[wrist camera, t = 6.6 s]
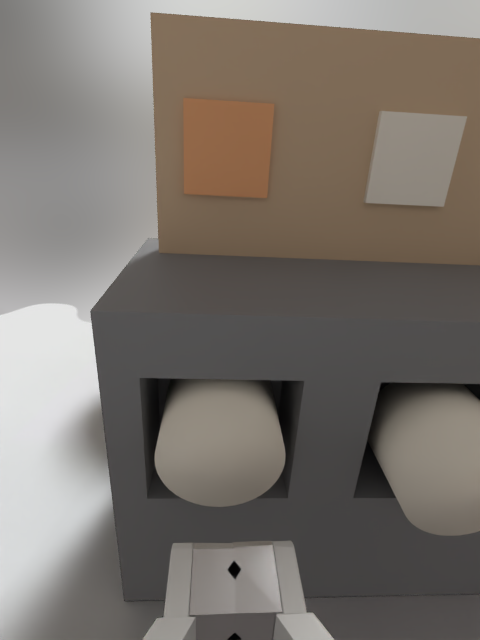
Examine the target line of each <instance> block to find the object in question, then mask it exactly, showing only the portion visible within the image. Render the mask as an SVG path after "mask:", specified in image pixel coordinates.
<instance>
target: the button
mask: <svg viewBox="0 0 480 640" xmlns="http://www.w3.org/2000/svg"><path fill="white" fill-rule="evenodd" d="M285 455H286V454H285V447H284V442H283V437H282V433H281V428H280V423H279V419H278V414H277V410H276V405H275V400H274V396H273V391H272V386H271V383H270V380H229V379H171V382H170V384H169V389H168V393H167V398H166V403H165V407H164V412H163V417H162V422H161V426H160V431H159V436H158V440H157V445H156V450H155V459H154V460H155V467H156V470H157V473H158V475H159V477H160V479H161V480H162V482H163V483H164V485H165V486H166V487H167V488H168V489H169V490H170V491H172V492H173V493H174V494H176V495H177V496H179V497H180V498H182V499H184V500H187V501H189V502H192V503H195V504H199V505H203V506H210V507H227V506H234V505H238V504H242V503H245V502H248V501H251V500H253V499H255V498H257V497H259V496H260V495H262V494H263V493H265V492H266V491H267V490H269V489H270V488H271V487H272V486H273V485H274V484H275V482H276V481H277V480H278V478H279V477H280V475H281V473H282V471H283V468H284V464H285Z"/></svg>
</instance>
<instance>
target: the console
mask: <svg viewBox="0 0 480 640" xmlns="http://www.w3.org/2000/svg"><path fill="white" fill-rule="evenodd" d="M151 39H152V67H153V68H152V69H153V96H154V125H155V154H156V181H157V182H156V183H157V212H158V239H156V238H148V239H147V240H146V242H145V243H144V244H143V245H142V247H141V248H140V249H139V250H138V252H137V253H136V254H135V255H134V257H133V258H132V259H131V260H130V262H129V263H128V265H126V267H125V268H124V269H123V271H122V272H121V273H120V274H119V276H118V277H117V278H116V280H115V281H114V282H113V283H112V284H111V286H110V287H109V288H108V289H107V291H106V292H105V293H104V295H103V296H102V297H101V298H100V299H99V301H98V302H97V303H96V305H95V306H94V307H93V308H92V310H91V320H92V329H93V338H94V346H95V355H96V363H97V372H98V381H99V389H100V398H101V406H102V415H103V423H104V432H105V441H106V449H107V458H108V466H109V475H110V483H111V492H112V501H113V509H114V518H115V526H116V535H117V543H118V552H119V560H120V569H121V578H122V586H123V595H124V601H144V600H165V599H166V591H167V582H168V573H169V565H170V556H171V549H172V545H173V543H233V542H247V541H290V540H291V541H292V543H293V545H294V548H295V553H296V558H297V563H298V568H299V574H300V579H301V584H302V589H303V594H304V597H347V596H398V595H448V594H480V531H478V532H475V533H470V534H465V535H458V536H442V535H435V534H431V533H428V532H425V531H422V530H421V529H419V528H417V527H416V526H414V525H413V524H412V523H411V522H410V521H409V520H408V519H407V517H406V516H405V514H404V512H403V510H402V508H401V506H400V504H399V502H398V500H397V498H396V496H395V494H394V492H393V490H392V488H391V486H390V484H389V482H388V480H387V478H386V476H385V474H384V472H383V470H382V468H381V466H380V464H379V462H378V460H377V458H376V456H375V454H374V452H373V451H372V449H371V447H370V445H369V443H368V441H367V439H368V434H369V430H370V426H371V422H372V418H373V413H374V409H375V405H376V401H377V397H378V393H379V392H380V391H381V390H382V389H383V388H384V387H385V386H387V385H388V384H390V383H391V382H398V383H455V384H464V385H465V386H466V387H467V388H468V389H469V390H470V391H471V392H472V393H473V394H474V395H475V396H476V397H477V398H478V399H479V400H480V39H479V38H467V37H453V36H441V35H429V34H416V33H404V32H391V31H378V30H365V29H352V28H340V27H327V26H315V25H303V24H290V23H277V22H265V21H252V20H239V19H226V18H214V17H202V16H189V15H176V14H162V13H151ZM171 379H229V380H270V383H271V386H272V391H273V396H274V400H275V405H276V410H277V414H278V419H279V423H280V428H281V433H282V437H283V442H284V447H285V454H286V455H285V464H284V468H283V471H282V473H281V475H280V477H279V478H278V480H277V481H276V482H275V484H274V485H273V486H272V487H271V488H270V489H269V490H267V491H266V492H265V493H263V494H262V495H260V496H259V497H257V498H255V499H253V500H251V501H248V502H245V503H242V504H238V505H234V506H227V507H210V506H203V505H199V504H195V503H192V502H189V501H187V500H184V499H182V498H180V497H179V496H177V495H176V494H174V493H173V492H172V491H170V490H169V489H168V488H167V487H166V486H165V485H164V483H163V482H162V480H161V479H160V477H159V475H158V473H157V470H156V467H155V460H154V459H155V450H156V445H157V440H158V436H159V431H160V426H161V422H162V417H163V412H164V407H165V403H166V398H167V393H168V389H169V384H170V382H171Z"/></svg>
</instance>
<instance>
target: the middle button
mask: <svg viewBox="0 0 480 640" xmlns="http://www.w3.org/2000/svg"><path fill="white" fill-rule="evenodd" d="M367 441H368V443H369V445H370V447H371V449H372V451H373V452H374V454H375V456H376V458H377V460H378V462H379V464H380V466H381V468H382V470H383V472H384V474H385V476H386V478H387V480H388V482H389V484H390V486H391V488H392V490H393V492H394V494H395V496H396V498H397V500H398V502H399V504H400V506H401V508H402V510H403V512H404V514H405V516H406V517H407V519H408V520H409V521H410V522H411V523H412V524H413V525H414V526H416V527H417V528H419V529H421V530H422V531H425V532H428V533H431V534H435V535H442V536H458V535H465V534H470V533H475V532H478V531H480V400H479V399H478V398H477V397H476V396H475V395H474V394H473V393H472V392H471V391H470V390H469V389H468V388H467V387H466V386H465V385H464V384H455V383H398V382H391V383H390V384H388V385H387V386H385V387H384V388H383V389H382V390H381V391H380V392H379V393H378V397H377V401H376V405H375V409H374V413H373V418H372V422H371V426H370V430H369V434H368V439H367Z"/></svg>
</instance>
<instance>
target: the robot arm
mask: <svg viewBox="0 0 480 640" xmlns="http://www.w3.org/2000/svg"><path fill="white" fill-rule="evenodd" d="M142 640H334V638H333V637H332V636H331V635H330V633H329V632H328V631H327V629H326V628H325V627H324V626H323V624H322V623H321V622H320V620H319V619H318V618H317V617H316V615H315V614H314V613H311V612H307V609H306V604H305V599H304V594H303V589H302V584H301V579H300V574H299V568H298V563H297V558H296V553H295V548H294V545H293V543H292V541H291V540H290V541H247V542H233V543H173V545H172V549H171V556H170V565H169V573H168V582H167V591H166V599H165V608H164V617H160V618H157V619H156V620H155V622H154V623H153V624H152V626H151V627H150V629H149V630H148V632H147V633H146V635H145V636H144V638H143V639H142Z"/></svg>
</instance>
